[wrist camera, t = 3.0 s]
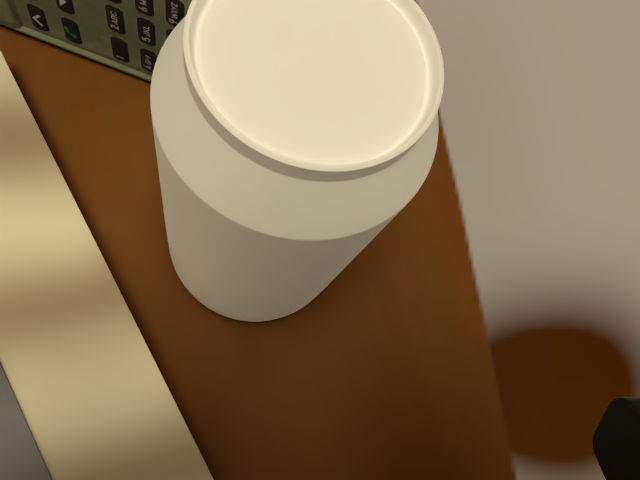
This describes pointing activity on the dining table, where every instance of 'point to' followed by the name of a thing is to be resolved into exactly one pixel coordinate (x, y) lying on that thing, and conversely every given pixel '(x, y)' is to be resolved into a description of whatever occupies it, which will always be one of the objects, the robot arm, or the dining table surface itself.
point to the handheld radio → (100, 28)
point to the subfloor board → (71, 336)
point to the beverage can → (289, 141)
